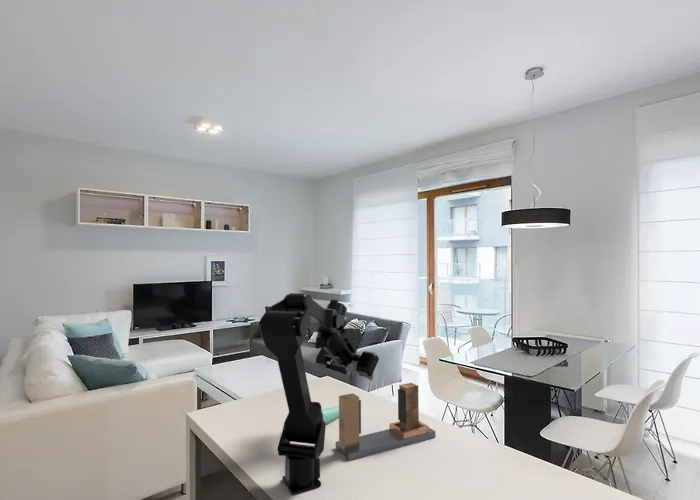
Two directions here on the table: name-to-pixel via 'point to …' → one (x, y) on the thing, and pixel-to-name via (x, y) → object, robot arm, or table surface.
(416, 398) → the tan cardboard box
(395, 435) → the rail
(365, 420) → the table surface
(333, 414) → the mint green cone
